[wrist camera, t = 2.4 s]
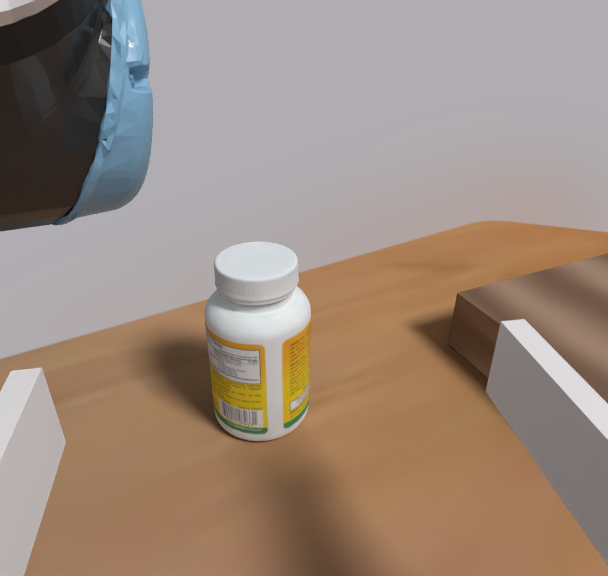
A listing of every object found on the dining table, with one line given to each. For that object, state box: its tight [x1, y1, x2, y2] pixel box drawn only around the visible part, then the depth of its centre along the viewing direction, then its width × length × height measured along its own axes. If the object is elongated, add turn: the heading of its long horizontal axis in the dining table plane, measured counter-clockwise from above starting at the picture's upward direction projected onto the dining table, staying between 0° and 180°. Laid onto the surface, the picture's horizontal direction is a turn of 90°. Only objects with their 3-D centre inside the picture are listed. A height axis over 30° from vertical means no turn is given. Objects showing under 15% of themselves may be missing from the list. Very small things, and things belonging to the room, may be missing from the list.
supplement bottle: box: [205, 242, 311, 441], centre depth 27 cm, size 5×5×10 cm
